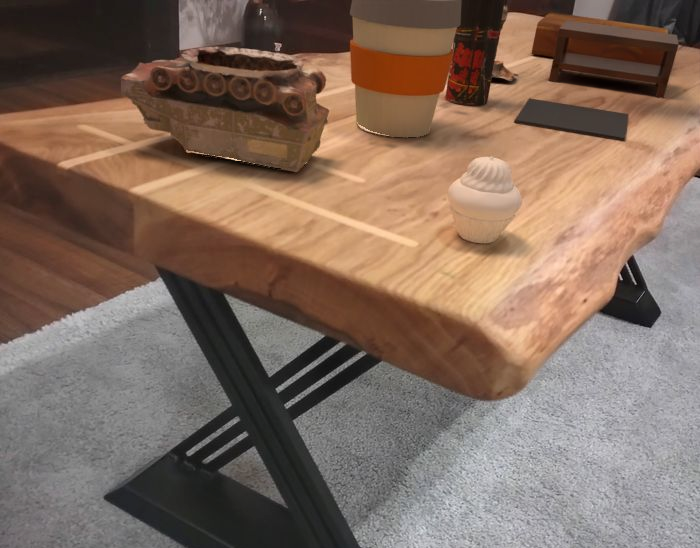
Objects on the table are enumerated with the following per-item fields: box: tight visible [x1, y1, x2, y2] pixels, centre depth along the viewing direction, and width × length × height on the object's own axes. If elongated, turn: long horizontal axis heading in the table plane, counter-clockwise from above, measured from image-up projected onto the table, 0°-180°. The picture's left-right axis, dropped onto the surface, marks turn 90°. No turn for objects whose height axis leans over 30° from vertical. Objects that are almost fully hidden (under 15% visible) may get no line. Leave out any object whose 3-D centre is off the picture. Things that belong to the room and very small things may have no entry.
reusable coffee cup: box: [349, 0, 462, 139], centre depth 90 cm, size 13×13×15 cm
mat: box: [513, 97, 629, 142], centre depth 105 cm, size 14×14×1 cm
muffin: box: [447, 155, 523, 244], centre depth 64 cm, size 6×6×7 cm
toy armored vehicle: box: [120, 45, 331, 173], centre depth 76 cm, size 13×20×10 cm, turn 70°
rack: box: [548, 20, 680, 99], centre depth 126 cm, size 18×11×8 cm, turn 71°
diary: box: [531, 11, 669, 66], centre depth 148 cm, size 23×19×6 cm
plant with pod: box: [492, 0, 520, 82], centre depth 119 cm, size 8×11×20 cm
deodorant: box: [445, 0, 505, 107], centre depth 105 cm, size 6×6×15 cm
